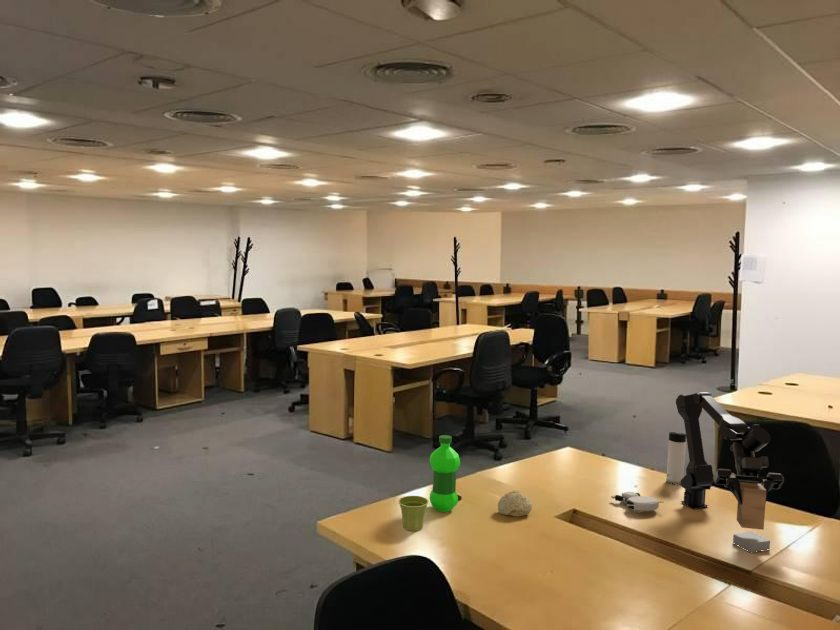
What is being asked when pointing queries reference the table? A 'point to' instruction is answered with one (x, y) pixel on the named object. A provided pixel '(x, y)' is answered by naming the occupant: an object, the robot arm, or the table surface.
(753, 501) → the walnut block
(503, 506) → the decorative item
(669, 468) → the travel mug
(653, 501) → the robot toy
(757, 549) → the base slab
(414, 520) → the plant pot
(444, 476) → the plastic bottle
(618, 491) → the table surface
